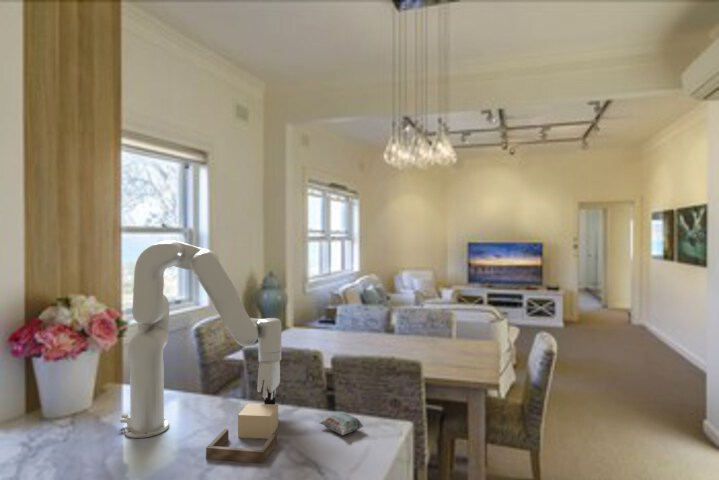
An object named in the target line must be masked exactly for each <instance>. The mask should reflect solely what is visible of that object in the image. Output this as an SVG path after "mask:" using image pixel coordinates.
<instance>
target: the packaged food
mask: <svg viewBox="0 0 719 480" xmlns="http://www.w3.org/2000/svg"><path fill="white" fill-rule="evenodd" d="M318 424H319V425H323V426H324V427H325V428H326V429H328V430H331V431H334V432H336V433H337V434H339V435H341V436H345V435H347V434H350V433H354V432H356V431H357V430H360V429H361V428H363V427H364V425H363V423H362V422H361V421H360V419H359V418H357V417H355V416H352V415H351V414H348V413H346V412H344V411H337V412H334V413H332V414H330V415H329V416H327V417H325V419H323V420H322V421H321V420H320V421H319V422H318ZM336 433H335V434H336Z"/></svg>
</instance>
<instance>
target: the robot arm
mask: <svg viewBox="0 0 719 480" xmlns="http://www.w3.org/2000/svg"><path fill="white" fill-rule="evenodd" d="M172 267H175V268H179V269H183V270H186V271H190V272H193V274H194V276H195V277H196V279H197V281H198V282H199V284H200V285H201V287H202V288H203V290H204V291H205V293H206V295H207V296H208V298H209V299H210V301H211V303H212V305H213V307H214V309H215V310H216V311H217V313H218V315H219V317H220V318H221V320H222V322H223V324H224V325H225V327H226V329H227V330H228V332H229V333H230V335H231V336H232V338H233V339H234V341H235V342H236V343H237V344H238V345H240V346H242V347H250V346H252V345H254V344H255V343H256V342H258V362H259V363H258V370H257V371H258V372H257V393H261V392H262V398H263V399H264V404H276V393H277V387H278V386H279V385H280V383H281V366H280V365H281V364H280V362H281V360H282V321H281V319H279V318H277V317H267V318H254V317H250V316H249V314H248V312H247V311H246V309H245V307H244V305H243V303H242V300H241V299H240V296H239V292H238V289H237V288H236V285H234V283H233V281H232V279H230V277H229V275H228V274H227V272H226V271H225V268H224V267H223V266H222V264H221V262H220V259H219V256H218V255H217V253H215V252H214V251H213V250H210V249H207V248H202V247H199V246H196V245H192V244H188V243H184V242H182V241H178V240H172V239H171V240H169V239H168V240H163V241H162V240H161V241H159V242H156V243H154V244H152V245H150V246H148V247H147V248H145V249H144V250H143V251H142V252H141V253H140V255H139V256H138V257H137V259H136V262H135V266H134V271H133V273H134V274H133V292H132V293H133V294H132V307H131V308H132V311H131V313H132V317H133V319H134V321H135V322H137V332H136V333H135V334H134V335H133V336H132V337H131V339H130V341H129V345H128V348H127V352H128V354H127V355H128V362H129V363H128V364H129V388H130V389H129V392H130V394H129V395H130V397H129V398H130V399H129V401H130V402H129V405H130V406H129V407H130V411H129V412H130V413H122V415H121V418H120V420H119V423H121V424H126V427H125V428H124V434H125V436H127V437H128V438H132V439H133V438H135V439H143V438H144V439H145V438H149V437H153V436H157V435H159V434H161V433H164V432H165V431H167V429H168V428H170V421H169V420H168V419H166V418H165V407H164V406H165V405H164V404H165V390H164V389H165V388H164V387H165V386H164V384H165V379H164V378H165V370H164V369H165V368H164V353H163V352H164V348H165V347H166V345H167V343H168V340H169V336H170V335H169V331H170V303H169V300H168V297H167V296H166V295H165V294H164V285H165V280H164V279H165V278H164V273H165V271H166V270H167V269H168V268H172Z"/></svg>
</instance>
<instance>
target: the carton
mask: <svg viewBox="0 0 719 480" xmlns="http://www.w3.org/2000/svg"><path fill="white" fill-rule="evenodd" d="M278 427H279V404H276V403H275V404H265V403H246V405H245V406H244V408H243V409H241V411H239V413H238V415H237V438H244V439H245V438H246V439H247V438H249V439H267V440H268V439H269V438H270V436H271V435H272V434H273V433H276V430H277V428H278Z"/></svg>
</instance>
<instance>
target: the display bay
mask: <svg viewBox="0 0 719 480" xmlns="http://www.w3.org/2000/svg"><path fill="white" fill-rule="evenodd" d="M228 440H229V429H228V428H227V429H225V428H224V429H223V430H222V431H221V432H220V433H219V434H218V436H216V437H215V438H214V439H213V440H212V441H211V442H210V443H209V444H208V445H207V446H206V447H205V459H209V460H221V461H222V460H223V461H231V462H242V463H243V462H245V463H256V464H264V463H265V461H266V460H267V458H268V457H269V455H271V453H272V452H273V449H274V448H275V447H276V445H277V444H278V432H274V433H273V434H272V435H271V436H270V438H269V439H267V441H265V443H264V444H263V445H262V447H261V449H259V448H257V449H255V448H242V447H229V446H224V445H225V443H227V442H228Z"/></svg>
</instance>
